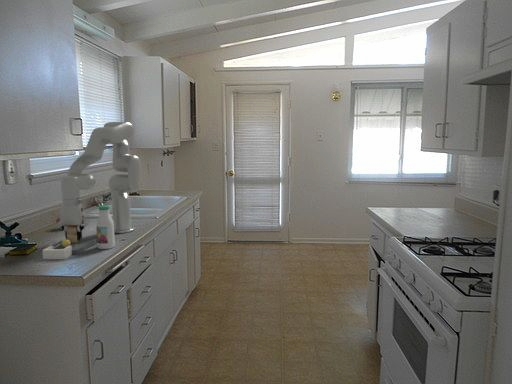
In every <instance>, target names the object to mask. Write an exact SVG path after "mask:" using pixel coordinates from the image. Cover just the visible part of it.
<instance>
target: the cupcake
mask: <svg viewBox="0 0 512 384" xmlns="http://www.w3.org/2000/svg"><path fill="white" fill-rule="evenodd" d="M59 221H60V216H59V217H58V218H56V220H55V223H56V225H57V224H58V223H59ZM59 229H60V230H63V229H62V228H61V227H59ZM63 231H64V230H63Z"/></svg>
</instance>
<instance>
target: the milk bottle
mask: <svg viewBox="0 0 512 384" xmlns="http://www.w3.org/2000/svg"><path fill="white" fill-rule="evenodd" d="M98 212H99V214H98V217H97V220H96V224H95V225H96V226H95V228H96V240H97V243H96V245H97V248H98V249H99V250H108V249H113V248H115V246H116V240H115V239H116V238H115V233H114V224H113V217H112V216H111V213H110V206H109V205H108V204H107V205H106V204H105V205H104V204H103V205H100V206H98Z"/></svg>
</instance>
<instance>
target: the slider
mask: <svg viewBox="0 0 512 384" xmlns="http://www.w3.org/2000/svg"><path fill="white" fill-rule="evenodd" d="M66 229H67V239H68V240H69V241H70V243H78V242H79V241H82V238H81V239H80V240H77V232H78V230H77V226H66Z"/></svg>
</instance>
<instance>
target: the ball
mask: <svg viewBox="0 0 512 384" xmlns="http://www.w3.org/2000/svg"><path fill="white" fill-rule="evenodd" d="M61 241H62V246H64V247H68V246H70V241H69V240H68V239H66V238H65V239H63V240H61Z"/></svg>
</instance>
